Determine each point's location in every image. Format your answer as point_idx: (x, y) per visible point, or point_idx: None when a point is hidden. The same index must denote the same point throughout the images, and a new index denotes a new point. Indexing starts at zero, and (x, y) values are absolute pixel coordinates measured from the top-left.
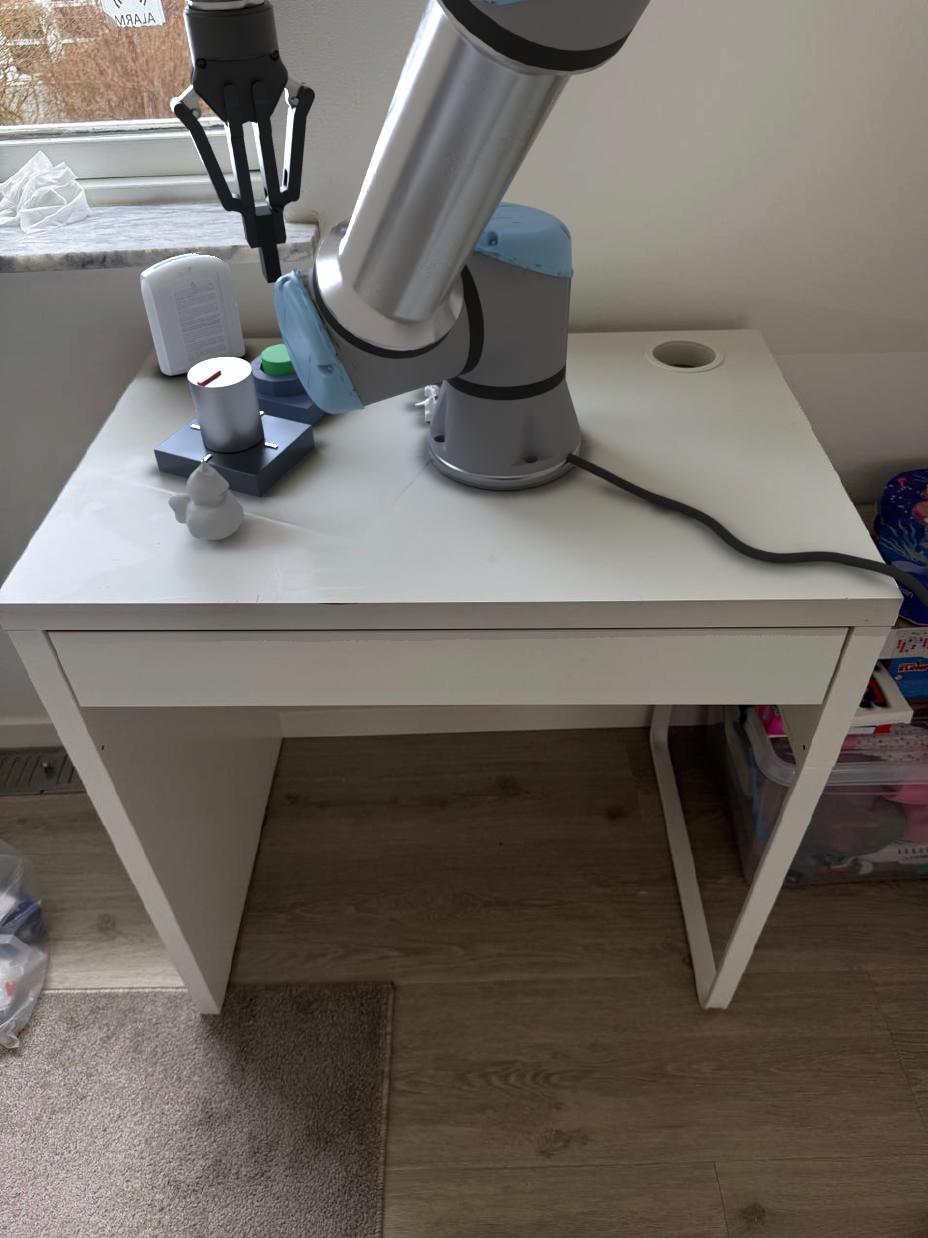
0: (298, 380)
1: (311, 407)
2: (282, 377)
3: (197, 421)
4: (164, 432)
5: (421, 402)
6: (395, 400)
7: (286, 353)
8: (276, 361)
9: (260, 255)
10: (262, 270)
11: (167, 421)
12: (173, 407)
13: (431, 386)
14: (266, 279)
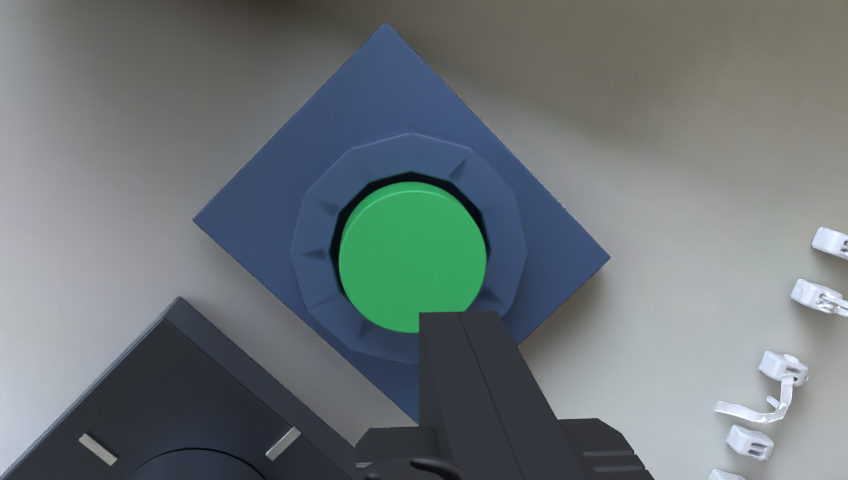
0: None
1: None
2: (388, 337)
3: (102, 409)
4: (16, 286)
5: (734, 405)
6: (679, 348)
7: (428, 274)
8: (382, 319)
9: (427, 393)
10: (420, 335)
11: (27, 225)
12: (48, 145)
13: (792, 375)
14: (419, 419)
